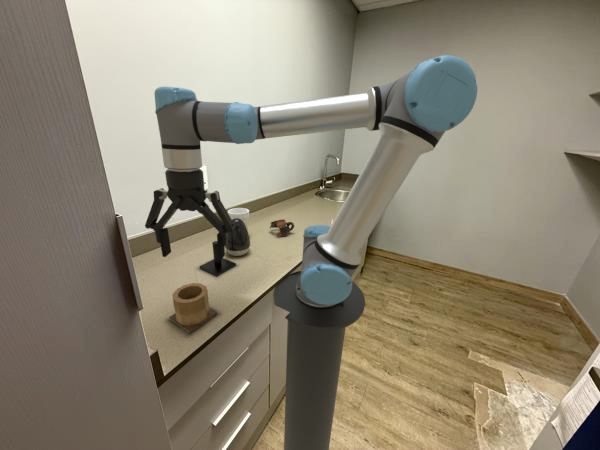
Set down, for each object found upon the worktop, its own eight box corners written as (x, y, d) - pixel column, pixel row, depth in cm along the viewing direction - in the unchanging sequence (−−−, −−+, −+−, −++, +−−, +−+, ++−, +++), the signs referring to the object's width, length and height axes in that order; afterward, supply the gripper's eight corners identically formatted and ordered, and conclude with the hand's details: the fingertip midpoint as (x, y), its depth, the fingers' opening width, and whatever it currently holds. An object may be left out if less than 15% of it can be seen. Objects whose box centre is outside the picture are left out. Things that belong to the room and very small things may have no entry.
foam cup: (240, 243, 108) (238, 215, 103) (225, 238, 112) (223, 211, 108) (254, 236, 116) (253, 210, 111) (239, 231, 120) (238, 206, 115)
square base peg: (236, 265, 90) (234, 241, 86) (216, 276, 83) (214, 250, 79) (219, 258, 94) (217, 235, 91) (199, 268, 87) (196, 243, 83)
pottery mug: (271, 238, 115) (267, 222, 116) (274, 239, 124) (270, 224, 125) (296, 232, 115) (292, 216, 116) (296, 234, 124) (292, 218, 125)
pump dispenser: (226, 261, 93) (223, 224, 87) (223, 249, 102) (221, 215, 96) (253, 257, 96) (252, 221, 91) (248, 246, 105) (246, 213, 100)
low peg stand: (217, 314, 66) (215, 297, 64) (189, 334, 59) (186, 316, 57) (197, 302, 70) (195, 286, 68) (169, 320, 63) (166, 303, 61)
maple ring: (215, 311, 65) (213, 289, 63) (189, 330, 59) (185, 306, 56) (196, 300, 69) (193, 279, 67) (170, 317, 63) (165, 294, 60)
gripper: (245, 169, 56) (247, 250, 64) (137, 164, 56) (152, 246, 63) (237, 174, 49) (241, 265, 57) (113, 168, 49) (134, 260, 56)
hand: (194, 255), depth 60 cm, fingers open, 13 cm apart
